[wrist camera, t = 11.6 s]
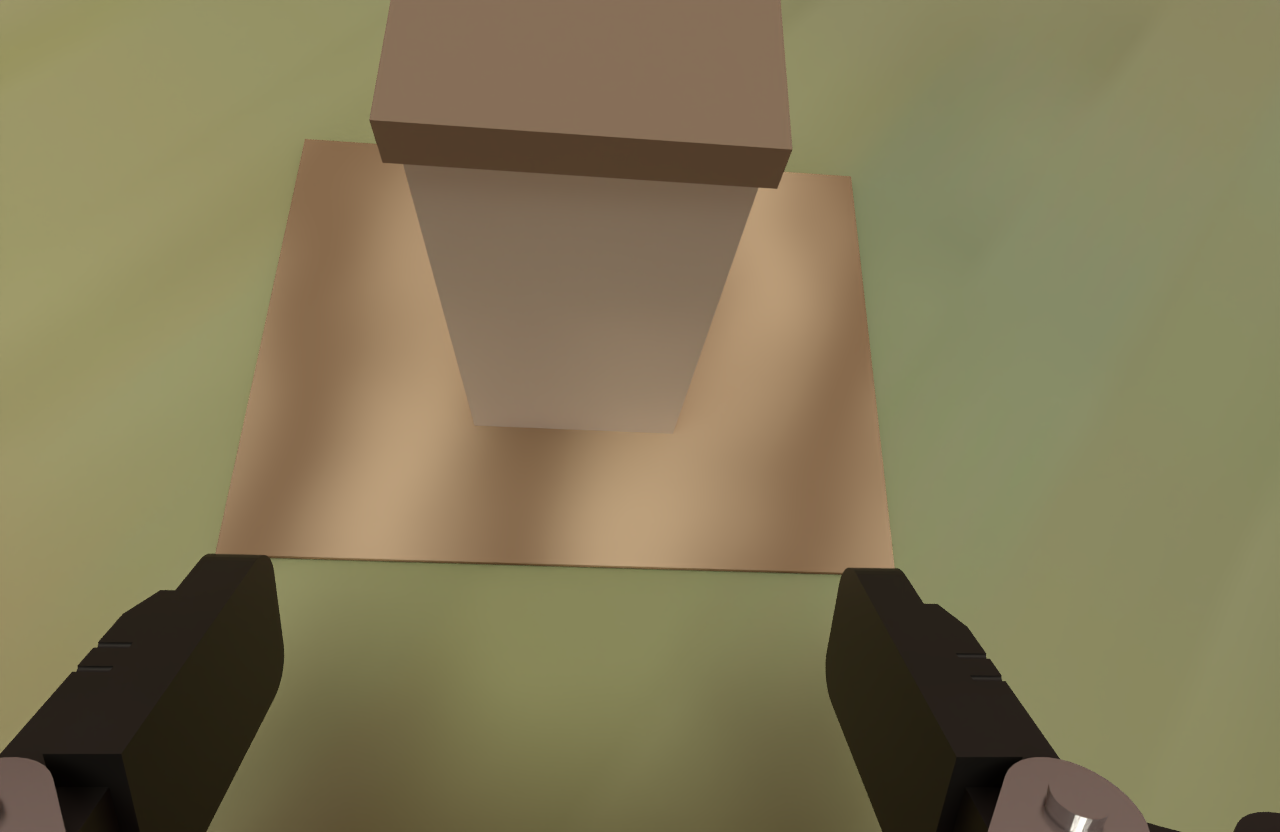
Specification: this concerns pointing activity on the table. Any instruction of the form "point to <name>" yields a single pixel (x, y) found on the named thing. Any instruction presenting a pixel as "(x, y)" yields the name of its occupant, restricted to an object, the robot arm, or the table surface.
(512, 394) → the canister
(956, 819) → the robot arm
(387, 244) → the mat
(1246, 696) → the table surface
